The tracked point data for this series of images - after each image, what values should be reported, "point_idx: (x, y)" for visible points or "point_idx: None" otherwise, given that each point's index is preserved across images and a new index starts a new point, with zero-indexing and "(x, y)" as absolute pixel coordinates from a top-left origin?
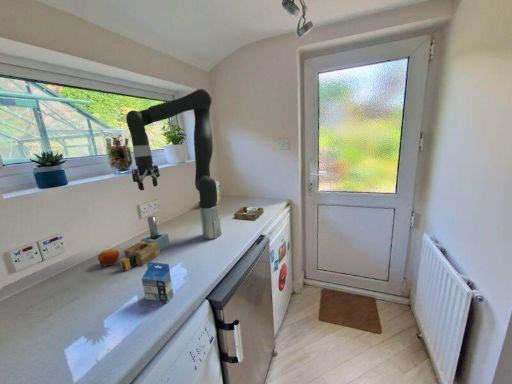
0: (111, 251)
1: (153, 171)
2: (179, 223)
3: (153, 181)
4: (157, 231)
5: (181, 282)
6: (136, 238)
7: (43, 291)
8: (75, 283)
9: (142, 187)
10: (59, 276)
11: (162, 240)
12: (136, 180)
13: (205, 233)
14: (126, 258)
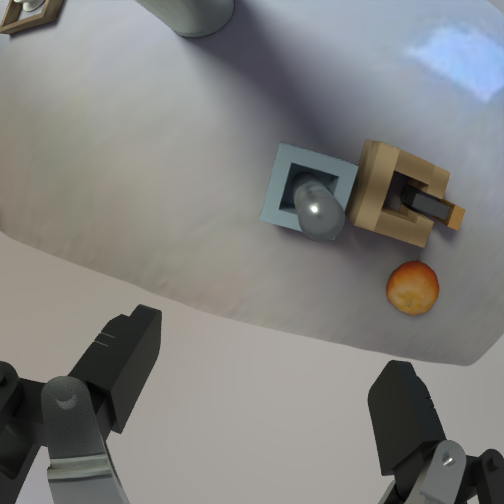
0: (428, 282)
1: (15, 499)
2: (92, 207)
3: (133, 391)
4: (308, 180)
5: (478, 37)
6: (234, 302)
7: (473, 331)
8: (468, 294)
9: (419, 385)
10: (431, 348)
11: (315, 152)
12: (499, 470)
13: (227, 6)
14: (454, 213)
